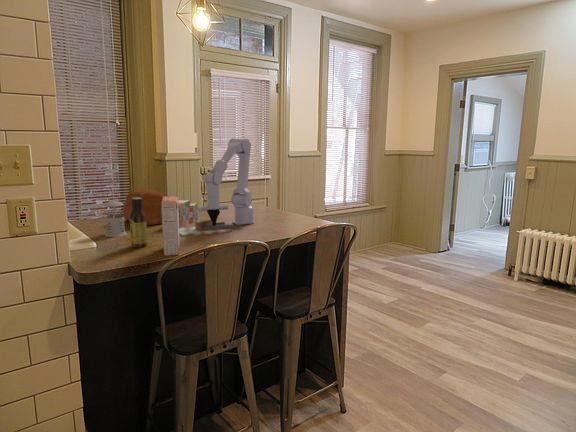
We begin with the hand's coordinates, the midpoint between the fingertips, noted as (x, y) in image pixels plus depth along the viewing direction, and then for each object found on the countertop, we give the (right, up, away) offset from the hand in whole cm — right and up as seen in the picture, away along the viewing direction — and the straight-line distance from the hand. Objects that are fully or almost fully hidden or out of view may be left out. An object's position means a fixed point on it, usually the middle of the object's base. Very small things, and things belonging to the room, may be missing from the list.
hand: (213, 225), depth 199 cm
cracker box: (-9, -10, -38) cm, 41 cm away
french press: (-43, -4, -12) cm, 45 cm away
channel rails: (0, -2, 0) cm, 2 cm away
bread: (-38, +1, +17) cm, 42 cm away
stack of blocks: (-18, 0, +14) cm, 23 cm away
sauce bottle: (-25, -8, -32) cm, 41 cm away
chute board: (-5, -3, -2) cm, 6 cm away
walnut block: (-4, -2, -2) cm, 5 cm away
